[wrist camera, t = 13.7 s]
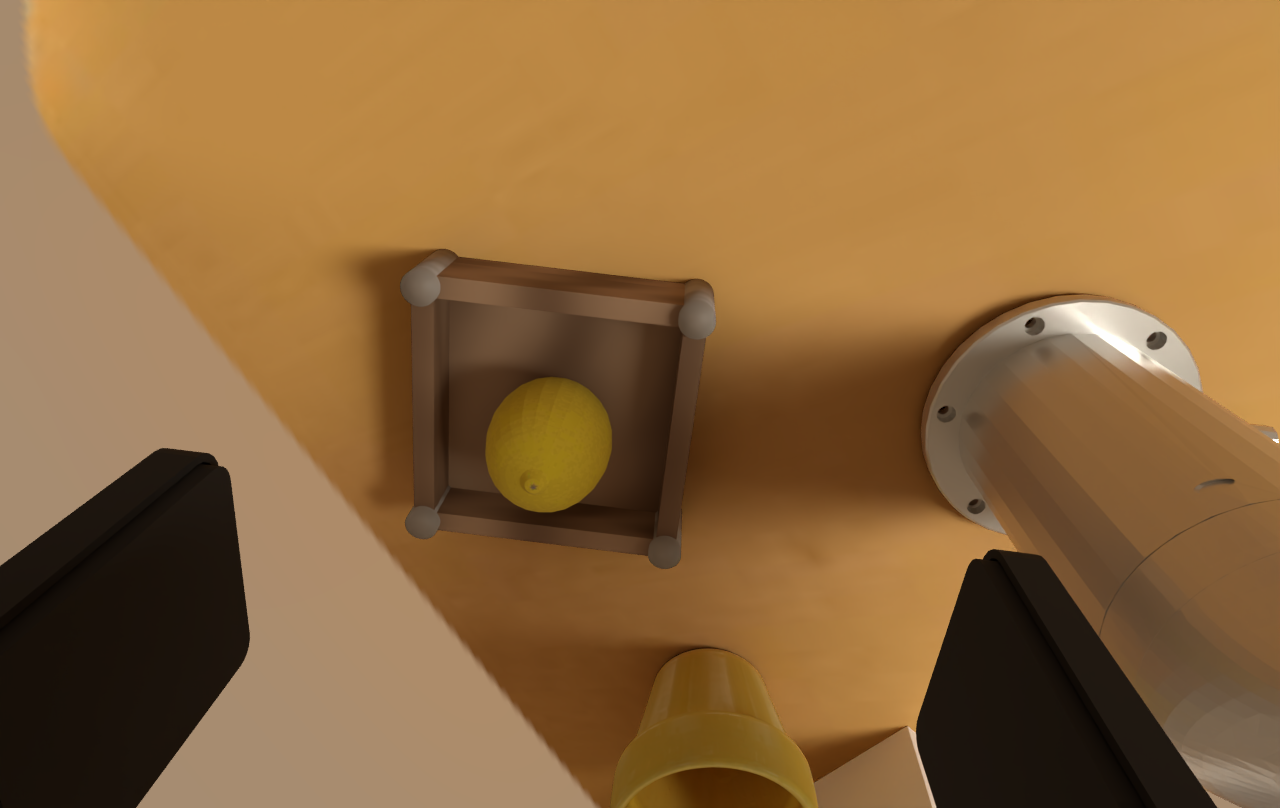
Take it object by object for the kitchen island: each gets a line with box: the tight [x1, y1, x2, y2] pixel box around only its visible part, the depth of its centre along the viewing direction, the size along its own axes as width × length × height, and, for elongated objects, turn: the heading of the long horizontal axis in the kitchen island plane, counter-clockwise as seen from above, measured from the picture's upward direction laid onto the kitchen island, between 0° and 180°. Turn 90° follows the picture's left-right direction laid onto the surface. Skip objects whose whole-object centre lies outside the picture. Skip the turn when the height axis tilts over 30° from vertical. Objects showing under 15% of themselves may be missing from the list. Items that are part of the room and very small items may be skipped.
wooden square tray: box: [400, 249, 716, 569], centre depth 38 cm, size 14×14×4 cm
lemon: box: [485, 377, 612, 512], centre depth 36 cm, size 6×6×8 cm
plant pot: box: [610, 649, 818, 808], centre depth 43 cm, size 10×10×10 cm
